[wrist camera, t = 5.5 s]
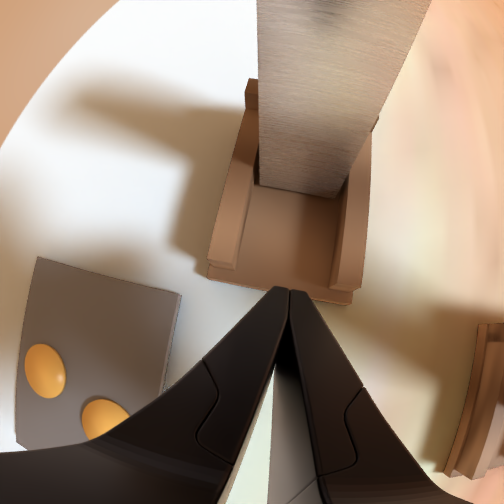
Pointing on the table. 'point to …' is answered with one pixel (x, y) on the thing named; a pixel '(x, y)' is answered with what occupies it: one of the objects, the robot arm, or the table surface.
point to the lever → (325, 84)
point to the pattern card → (88, 354)
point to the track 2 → (482, 410)
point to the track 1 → (289, 225)
